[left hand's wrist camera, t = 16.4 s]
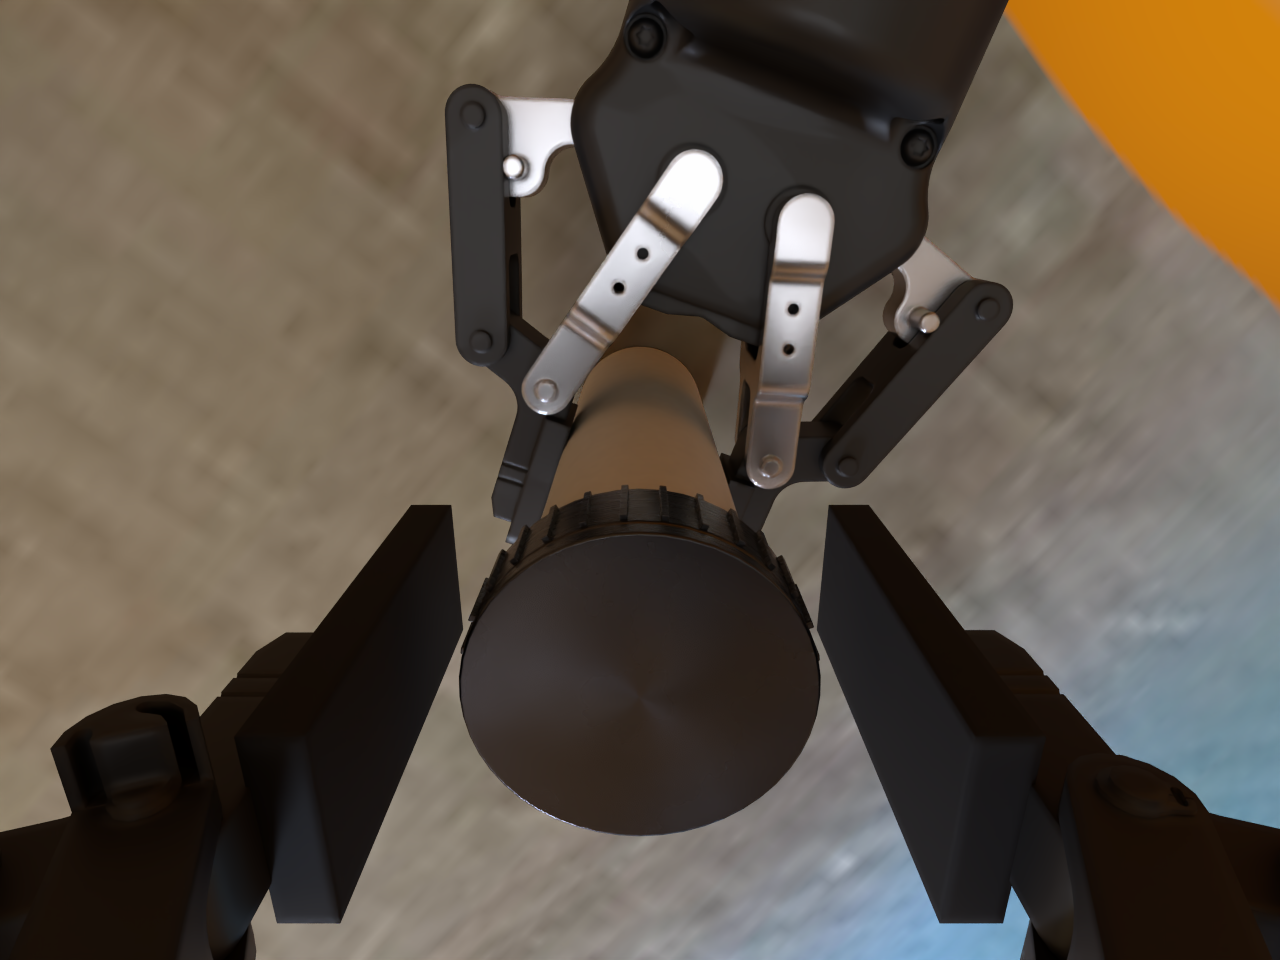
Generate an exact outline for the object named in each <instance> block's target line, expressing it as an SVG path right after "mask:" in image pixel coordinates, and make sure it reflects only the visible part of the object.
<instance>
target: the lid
mask: <svg viewBox="0 0 1280 960" xmlns="http://www.w3.org/2000/svg"><path fill="white" fill-rule="evenodd" d="M468 620H469V621H471V625H470V627H469V630H468V632H467V635H466V637H465V640H464V642H463V645H462V647H461V654H462V658H461V666H460V673H459V693H460V702H461V707H462V712H463V717H464V720H465V723H466V726H467V729H468V732H469V735H470V737H471V739H472V741H473V743H474V745H475V747H476V749H477V751H478V752H479V754H480V756H481V757H482V758H483V760H484V761H485V763H486V764H487V765H488V767H489V768H490V770H491V771H492V772H493V773H494V774H495V775H496V776H497V777H498V778H499V780H500V781H501V782H502V783H503V784H504V785H505V786H506V787H508V788H509V789H510V790H511V791H512V792H514V793H515V794H516V795H517V796H518V797H519V798H521V799H522V800H524V801H525V802H527V803H528V804H530V805H531V806H533V807H535V808H536V809H538V810H540V811H542V812H544V813H546V814H547V815H549V816H551V817H553V818H555V819H558V820H560V821H563V822H566V823H568V824H571V825H574V826H576V827H580V828H584V829H588V830H592V831H596V832H601V833H608V834H615V835H627V836H653V835H665V834H672V833H678V832H684V831H688V830H692V829H695V828H699V827H703V826H706V825H709V824H711V823H714V822H717V821H719V820H722V819H724V818H726V817H728V816H730V815H732V814H734V813H736V812H738V811H740V810H742V809H744V808H745V807H747V806H748V805H750V804H751V803H753V802H754V801H756V800H757V799H759V798H760V797H762V796H763V795H764V794H765V793H766V792H767V791H769V790H770V789H771V788H772V787H773V786H774V785H776V784H777V783H778V781H779V780H780V779H781V778H782V777H783V776H784V775H785V774H786V773H787V772H788V770H789V769H790V768H791V767H792V765H793V764H794V762H795V761H796V759H797V758H798V757H799V755H800V754H801V752H802V750H803V748H804V746H805V744H806V742H807V740H808V738H809V736H810V734H811V731H812V728H813V725H814V722H815V719H816V716H817V711H818V705H819V700H820V679H821V675H820V668H819V660H820V658H819V653H818V650H817V648H816V645H815V643H814V640H813V638H812V635H811V633H810V630H809V629H811V628H814V626H813V623H812V620H811V618H810V615H809V613H808V611H807V608H806V606H805V603H804V601H803V599H802V596H801V594H800V591H799V589H798V586H797V584H794V581H793V579H792V576H791V574H790V571H789V569H788V567H787V564H786V562H785V559H784V558H783V556H782V555H781V556H779V557H776V555H775V554H774V552H773V551H772V549H771V548H770V547H769V546H768V543H767V541H766V538H765V535H764V533H763V532H762V531H761V530H760V529H759V530H758V531H757V532H755V531H754V530H752V529H751V528H750V527H749V526H748V525H746V524H745V523H744V522H743V521H741V520H740V519H738V516H737V513H736V511H735V510H733V509H731V508H730V510H729V511H728V512H727V511H726V510H724V509H722V508H720V507H717V506H715V505H713V504H711V503H709V502H707V501H704V497H703V495H701V494H698V493H697V494H696V496H695V497H692V496H689V495H685V494H681V493H676V492H670V491H667V487H666V486H661V485H660V486H659V490H655V489H629V486H628V485H621V490H614V491H609V492H604V493H599V494H594V495H592V493H591V491H589V492H585V493H584V497H583V498H582V499H579V500H575V501H573V502H571V503H569V504H567V505H564V506H562V507H560V508H558V507H557V505H554V506H552V507H550V510H549V514H548V515H546V516H545V517H543V518H541V519H540V520H538V521H537V522H536V523H534V524H533V525H532V526H531V527H530V528H529V527H528V526H527V525H524V526H523V527H522V528H521V531H520V533H519V536H518V539H517V540H516V541H515V542H514V543H513V544H512V546H511V547H510V548H509V549H508V550H507V552H506V551H505V550H503V549H502V550H501V551H500V553H499V555H498V557H497V560H496V562H495V565H494V567H493V570H492V572H491V574H490V577H489V579H488V578H485V581H484V583H483V585H482V588H481V590H480V593H479V595H478V597H477V600H476V602H475V605H474V607H473V610H472V612H471V614H470V617H469V619H468Z"/></svg>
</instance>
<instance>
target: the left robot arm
mask: <svg viewBox="0 0 1280 960" xmlns="http://www.w3.org/2000/svg"><path fill="white" fill-rule="evenodd" d="M462 631H463V624H462V613H461V603H460V592H459V582H458V571H457V561H456V550H455V540H454V529H453V519H452V508H451V505H411V506H410V507H409V509H408V510H407V511H406V513H405V514H404V515H403V517H402V518H401V519H400V520H399V522H398V523H397V524H396V526H395V527H394V528H393V530H392V531H391V532H390V534H389V535H388V536H387V537H386V539H385V540H384V541H383V543H382V544H381V545H380V547H379V548H378V549H377V551H376V552H375V553H374V554H373V556H372V557H371V558H370V560H369V561H368V562H367V564H366V565H365V566H364V567H363V569H362V570H361V571H360V573H359V574H358V575H357V577H356V578H355V579H354V581H353V582H352V583H351V584H350V586H349V587H348V588H347V590H346V591H345V592H344V594H343V595H342V596H341V598H340V599H339V600H338V601H337V603H336V604H335V605H334V607H333V608H332V609H331V611H330V612H329V613H328V614H327V616H326V617H325V618H324V620H323V621H322V622H321V624H320V625H319V626H318V628H317V629H316V630H315V631H314V633H285V634H283V635H281V636H280V637H278V638H277V639H275V640H274V641H272V642H270V643H269V644H267V645H266V646H264V647H263V648H261V649H259V650H258V651H256V652H255V654H254V655H253V656H252V657H251V658H250V659H249V661H248V662H247V663H246V664H245V665H244V666H243V667H242V669H241V670H240V671H239V672H238V673H237V678H233V679H232V680H231V681H230V683H229V684H228V685H227V686H226V687H225V688H224V690H223V691H222V692H221V697H217V698H216V699H215V700H214V701H213V702H212V703H211V705H210V706H209V707H208V708H207V709H206V710H205V712H204V713H203V714H202V715H201V716H199V712H198V708H197V705H196V704H194V703H193V702H191V701H190V700H189V699H187V698H186V697H182V696H175V695H169V694H161V695H151V696H141V697H137V698H134V699H130V700H126V701H123V702H119V703H116V704H113V705H110V706H108V707H106V708H104V709H102V710H100V711H97V712H95V713H93V714H91V715H89V716H87V717H85V718H84V719H82V720H81V721H79V722H78V723H76V724H75V725H74V726H72V727H71V728H69V729H68V730H66V731H65V732H64V733H63V734H62V735H61V737H60V738H59V739H58V740H57V741H56V742H55V744H54V745H53V746H52V747H51V748H50V749H51V752H52V755H53V758H54V761H55V764H56V767H57V770H58V773H59V776H60V779H61V782H62V785H63V788H64V791H65V794H66V797H67V800H68V802H69V805H70V808H71V811H72V814H71V816H69V817H65V818H62V819H58V820H53V821H49V822H44V823H40V824H35V825H31V826H26V827H22V828H17V829H13V830H8V831H4V832H0V960H255V958H256V946H255V939H254V934H253V930H252V925H251V920H252V918H253V916H254V915H255V913H256V911H257V909H258V907H259V905H260V904H261V902H262V900H263V898H264V896H265V894H266V893H267V891H268V889H269V891H270V895H271V899H272V904H273V908H274V912H275V917H276V921H277V923H341V920H342V918H343V916H344V913H345V911H346V908H347V906H348V904H349V901H350V899H351V897H352V894H353V892H354V889H355V887H356V885H357V882H358V880H359V877H360V875H361V873H362V870H363V868H364V865H365V863H366V861H367V858H368V856H369V853H370V851H371V849H372V846H373V844H374V841H375V839H376V837H377V834H378V832H379V830H380V827H381V825H382V822H383V820H384V818H385V815H386V813H387V810H388V808H389V806H390V803H391V801H392V798H393V796H394V794H395V791H396V789H397V786H398V784H399V782H400V779H401V777H402V775H403V772H404V770H405V767H406V765H407V763H408V760H409V758H410V755H411V753H412V751H413V748H414V746H415V743H416V741H417V739H418V736H419V734H420V731H421V729H422V727H423V724H424V722H425V719H426V717H427V715H428V712H429V710H430V708H431V705H432V703H433V700H434V698H435V696H436V693H437V691H438V688H439V686H440V684H441V681H442V679H443V676H444V674H445V672H446V669H447V667H448V664H449V662H450V660H451V657H452V655H453V653H454V650H455V648H456V645H457V643H458V641H459V638H460V636H461V633H462ZM817 631H818V633H819V636H820V638H821V641H822V643H823V645H824V648H825V650H826V653H827V655H828V657H829V660H830V662H831V664H832V667H833V669H834V672H835V674H836V676H837V679H838V681H839V684H840V686H841V688H842V691H843V693H844V696H845V698H846V700H847V703H848V705H849V708H850V710H851V712H852V715H853V717H854V719H855V722H856V724H857V727H858V729H859V731H860V734H861V736H862V739H863V741H864V743H865V746H866V748H867V751H868V753H869V755H870V758H871V760H872V763H873V765H874V767H875V770H876V772H877V775H878V777H879V779H880V782H881V784H882V786H883V789H884V791H885V794H886V796H887V798H888V801H889V803H890V806H891V808H892V810H893V813H894V815H895V818H896V820H897V822H898V825H899V827H900V830H901V832H902V834H903V837H904V839H905V841H906V844H907V846H908V849H909V851H910V853H911V856H912V858H913V861H914V863H915V865H916V868H917V870H918V873H919V875H920V877H921V880H922V882H923V885H924V887H925V889H926V892H927V894H928V897H929V899H930V901H931V904H932V906H933V908H934V911H935V913H936V916H937V918H938V920H939V923H1003V921H1004V917H1005V912H1006V908H1007V904H1008V899H1009V895H1010V891H1011V886H1012V887H1013V889H1014V891H1015V893H1016V894H1017V896H1018V898H1019V900H1020V902H1021V903H1022V905H1023V907H1024V909H1025V911H1026V913H1027V914H1028V916H1029V918H1030V921H1029V925H1028V930H1027V934H1026V938H1025V942H1024V946H1023V950H1022V954H1021V958H1020V960H1280V829H1278V828H1273V827H1269V826H1264V825H1260V824H1255V823H1251V822H1246V821H1242V820H1237V819H1232V818H1228V817H1223V816H1219V815H1216V814H1212V813H1209V812H1208V811H1207V809H1206V808H1205V806H1204V805H1203V804H1202V802H1201V801H1200V799H1199V798H1198V797H1197V795H1196V794H1195V793H1194V792H1193V791H1191V790H1190V789H1189V788H1188V787H1186V786H1185V785H1184V784H1183V783H1181V782H1180V781H1179V780H1178V779H1176V778H1175V777H1173V776H1172V775H1170V774H1168V773H1166V772H1164V771H1162V770H1160V769H1158V768H1156V767H1154V766H1152V765H1151V764H1148V763H1145V762H1142V761H1139V760H1136V759H1133V758H1129V757H1126V756H1123V755H1116V754H1115V753H1114V752H1113V751H1112V750H1111V748H1110V747H1109V746H1108V745H1107V744H1106V743H1105V742H1104V740H1103V739H1102V738H1101V737H1100V736H1099V735H1098V734H1097V732H1096V731H1095V730H1094V729H1093V728H1092V727H1091V725H1090V724H1089V723H1088V722H1087V721H1086V720H1085V719H1084V717H1083V716H1082V715H1081V714H1080V713H1079V712H1078V710H1077V709H1076V708H1075V707H1074V706H1073V705H1072V704H1071V702H1070V701H1069V700H1068V699H1067V698H1066V697H1065V695H1064V694H1060V693H1059V689H1058V687H1057V686H1056V685H1055V684H1054V683H1053V682H1052V681H1051V679H1050V678H1049V677H1048V676H1047V675H1044V674H1043V670H1042V669H1041V668H1040V667H1039V666H1038V664H1037V663H1036V662H1035V661H1034V660H1033V659H1032V657H1031V656H1030V655H1029V654H1028V653H1027V652H1026V651H1025V649H1023V648H1022V647H1020V646H1019V645H1017V644H1015V643H1014V642H1012V641H1011V640H1009V639H1007V638H1006V637H1004V636H1003V635H1001V634H1000V633H998V632H996V631H995V630H964V629H963V628H962V626H961V625H960V624H959V622H958V621H957V620H956V618H955V617H954V616H953V614H952V613H951V612H950V611H949V609H948V608H947V607H946V605H945V604H944V603H943V601H942V600H941V599H940V598H939V596H938V595H937V594H936V592H935V591H934V590H933V588H932V587H931V586H930V584H929V583H928V582H927V581H926V579H925V578H924V577H923V575H922V574H921V573H920V571H919V570H918V569H917V567H916V566H915V565H914V564H913V562H912V561H911V560H910V558H909V557H908V556H907V554H906V553H905V552H904V551H903V549H902V548H901V547H900V545H899V544H898V543H897V541H896V540H895V539H894V537H893V536H892V535H891V534H890V532H889V531H888V530H887V528H886V527H885V526H884V524H883V523H882V522H881V520H880V519H879V518H878V517H877V515H876V514H875V513H874V511H873V510H872V509H871V507H870V506H869V505H829V508H828V519H827V529H826V540H825V550H824V561H823V571H822V582H821V592H820V603H819V613H818V624H817Z"/></svg>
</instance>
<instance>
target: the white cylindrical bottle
mask: <svg viewBox="0 0 1280 960" xmlns="http://www.w3.org/2000/svg"><path fill="white" fill-rule="evenodd" d="M577 405H578V408H577V411H576V414H575V417H574V421H573V424H572V427H571V430H570V433H569V436H568V439H567V442H566V445H565V448H564V451H563V453H562V456H561V458H560V461H559V464H558V467H557V470H556V474H555V477H554V480H553V483H552V486H551V489H550V493H549V496H548V499H547V502H546V505H545V508H544V512H543V515H542V518H543V517H545V516H546V515H548V514H549V510H550V507H552V506H554V505H557V507H558V508H560V507H562V506H564V505H567V504H569V503H571V502H573V501H575V500H579V499H582V498H583V497H584V493H585V492H589V491H591V493H592V495H594V494H599V493H604V492H609V491H614V490H621V485H628V486H629V489H655V490H659V486H660V485H661V486H666V487H667V491H670V492H676V493H681V494H685V495H689V496H692V497H695V496H696V494H697V493H698V494H701V495H703V497H704V501H707V502H709V503H711V504H713V505H715V506H717V507H720V508H722V509H724V510H726V511H727V512H728V511H729V510H730V508H731V509H733V510H735V511H736V509H735V506H734V503H733V499H732V496H731V493H730V490H729V487H728V483H727V480H726V477H725V474H724V471H723V468H722V464H721V461H720V458H719V455H718V452H717V448H716V445H715V442H714V439H713V436H712V433H711V429H710V426H709V423H708V420H707V417H706V413H705V410H704V407H703V404H702V401H701V398H700V394H699V391H698V388H697V385H696V383H695V381H694V379H693V377H692V375H691V374H690V372H689V371H688V370H687V368H686V367H685V366H684V365H683V364H682V363H681V362H680V361H679V360H677V359H676V358H675V357H673V356H671V355H670V354H668V353H666V352H663V351H661V350H658V349H654V348H649V347H631V348H626V349H622V350H619V351H617V352H614V353H612V354H610V355H609V356H607V357H605V358H604V359H603V360H601V361H600V362H599V363H598V364H597V365H596V366H595V367H594V368H593V369H592V371H591V372H590V374H589V375H588V377H587V379H586V380H585V383H584V385H583V388H582V391H581V394H580V397H579V401H578V404H577ZM736 513H737V512H736ZM737 516H738V515H737ZM738 519H739V518H738Z"/></svg>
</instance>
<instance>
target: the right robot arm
mask: <svg viewBox="0 0 1280 960" xmlns="http://www.w3.org/2000/svg"><path fill="white" fill-rule="evenodd" d="M1007 3H1008V0H629V4H628V7H627V10H626V14H625V17H624V20H623V24H622V27H621V30H620V33H619V36H618V38H617V41H616V43H615V45H614V47H613V49H612V50H611V52H610V54H609V56H608V57H607V58H606V60H605V61H604V62H603V64H602V65H601V66H600V67H599V68H598V70H597V71H596V72H595V73H594V74H593V75H591V76H590V77H589V78H588V79H587V80H586V82H585V83H584V84H583V85H582V87H581V88H580V90H579V91H578V93H577V95H576V97H575V99H558V98H535V97H511V96H499V95H497V94H495V93H494V92H492V91H491V90H488V89H486V88H485V87H483V86H480V85H476V84H466V85H463V86H460V87H458V88H457V89H456V90H454V91H453V92H452V94H451V95H450V96H449V98H448V100H447V103H446V107H445V126H446V147H447V168H448V189H449V210H450V230H451V251H452V272H453V293H454V314H455V335H456V345H457V348H458V350H459V352H460V354H461V355H462V357H463V358H464V359H465V360H466V361H468V362H469V363H471V364H473V365H476V366H482V367H483V366H486V367H487V368H489V369H490V370H491V371H493V372H494V373H495V374H496V375H498V376H499V377H500V378H502V379H503V380H504V381H505V382H506V383H508V384H509V386H510V387H511V388H512V390H513V391H514V393H515V396H516V399H517V404H518V410H517V415H516V419H515V422H514V425H513V428H512V432H511V435H510V438H509V441H508V445H507V448H506V451H505V455H504V458H503V461H502V465H501V468H500V471H499V474H498V478H497V481H496V484H495V487H494V491H493V494H492V497H491V498H492V506H493V515H494V517H497V518H500V519H503V520H507V521H510V522H512V523H511V526H510V529H509V532H508V535H507V538H506V542H507V543H510V544H513V543H514V542H515V541H516V540H517V539H518V536H519V533H520V531H521V528H522V527H523V526H524V525H527V526H528V527H529V528H530V527H531V526H532V525H533V524H534V523H536V522H537V521H538V520H540V519H541V517H542V514H543V511H544V508H545V505H546V502H547V499H548V496H549V493H550V489H551V486H552V483H553V480H554V477H555V474H556V470H557V467H558V464H559V461H560V458H561V456H562V453H563V451H564V448H565V445H566V442H567V439H568V436H569V433H570V430H571V427H572V424H573V421H574V417H575V414H576V411H577V408H578V405H577V404H574V403H572V401H573V398H574V395H575V393H576V392H577V390H578V389H579V388H580V386H581V385H582V383H583V382H584V381H585V379H586V378H587V376H588V375H589V374H590V372H591V371H592V369H593V368H594V367H595V365H596V364H597V362H598V361H599V360H600V358H601V357H602V355H603V354H604V353H605V351H606V350H607V349H608V347H609V346H611V344H612V343H613V342H614V341H615V339H616V338H617V337H618V335H619V334H620V333H621V331H622V330H623V328H624V327H625V326H626V324H627V323H628V321H629V320H630V319H631V317H632V316H633V314H634V313H635V312H636V310H637V309H638V307H639V306H640V305H643V306H646V307H649V308H652V309H655V310H657V311H660V312H663V313H666V314H674V315H687V316H699V317H702V318H704V319H706V320H707V321H709V322H710V323H711V324H713V325H714V326H716V327H717V328H718V329H720V330H721V331H723V332H724V333H726V334H727V335H728V336H730V337H733V338H735V339H738V340H741V352H740V390H739V400H738V410H737V420H736V430H735V446H734V449H733V451H732V454H731V456H729V455H726V454H723V453H721V455H720V461H721V464H722V468H723V471H724V474H725V477H726V480H727V483H728V487H729V490H730V493H731V496H732V499H733V503H734V506H735V509H736V512H737V515H738V518H739V519H740V520H741V521H743V522H744V523H745V524H746V525H748V526H749V527H750V528H751V529H752V530H754V531H755V532H757V531H758V530H759V529H760V530H761V529H762V527H763V525H764V522H765V520H766V518H767V516H768V514H769V511H770V509H771V507H772V505H773V502H774V500H775V498H776V497H777V495H778V494H779V493H780V492H781V491H782V490H783V489H784V488H786V487H787V486H789V485H791V484H794V483H798V482H818V481H829V482H830V483H831V484H832V485H834V486H836V487H839V488H851V487H854V486H857V485H859V484H860V483H862V482H863V481H864V480H865V479H866V478H867V477H868V476H869V474H870V473H871V472H872V471H873V470H874V469H875V468H876V467H877V466H878V464H879V463H880V462H881V461H882V460H883V459H884V458H885V457H886V456H887V455H888V453H889V452H890V451H891V450H892V449H893V448H894V447H895V446H896V445H897V443H898V442H899V441H900V440H901V439H902V438H903V437H904V436H905V435H906V434H907V432H908V431H909V430H910V429H911V428H912V427H913V426H914V425H915V424H916V422H917V421H918V420H919V419H920V418H921V417H922V416H923V415H924V414H925V412H926V411H927V410H928V409H929V408H930V407H931V406H932V405H933V404H934V403H935V401H936V400H937V399H938V398H939V397H940V396H941V395H942V394H943V393H944V391H945V390H946V389H947V388H948V387H949V386H950V385H951V384H952V383H953V382H954V380H955V379H956V378H957V377H958V376H959V375H960V374H961V373H962V372H963V370H964V369H965V368H966V367H967V366H968V365H969V364H970V363H971V362H972V360H973V359H974V358H975V357H976V356H977V355H978V354H979V353H980V352H981V351H982V349H983V348H984V347H985V346H986V345H987V344H988V343H989V342H990V341H991V339H992V338H993V337H994V336H995V335H996V334H997V333H998V332H999V331H1000V330H1001V328H1002V327H1003V326H1004V325H1005V324H1006V323H1007V321H1008V320H1009V318H1010V316H1011V313H1012V309H1013V300H1012V296H1011V294H1010V292H1009V291H1008V289H1007V288H1005V287H1004V286H1003V285H1001V284H998V283H995V282H990V281H986V280H981V279H976V278H973V277H971V276H970V275H969V274H968V273H967V272H966V271H965V270H963V269H962V268H961V267H960V266H959V265H958V264H956V263H955V262H954V261H953V260H952V259H951V258H950V257H948V256H947V255H946V254H945V253H944V252H943V251H941V250H940V249H939V248H938V247H937V246H936V245H935V244H933V243H932V242H931V241H930V240H929V239H928V238H926V237H925V233H926V230H927V226H928V186H929V179H930V174H931V170H932V167H933V164H934V162H935V159H936V157H937V155H938V153H939V151H940V149H941V147H942V145H943V143H944V141H945V139H946V137H947V135H948V133H949V131H950V129H951V127H952V125H953V123H954V121H955V118H956V116H957V114H958V112H959V109H960V107H961V105H962V103H963V100H964V98H965V96H966V94H967V92H968V89H969V87H970V85H971V83H972V80H973V78H974V76H975V74H976V71H977V69H978V67H979V65H980V63H981V60H982V58H983V56H984V54H985V51H986V49H987V47H988V45H989V43H990V40H991V38H992V36H993V34H994V32H995V29H996V27H997V25H998V23H999V20H1000V18H1001V16H1002V14H1003V12H1004V9H1005V7H1006V5H1007ZM571 147H575V150H576V153H577V157H578V160H579V163H580V167H581V170H582V174H583V177H584V180H585V184H586V187H587V190H588V194H589V197H590V200H591V204H592V207H593V210H594V214H595V217H596V220H597V224H598V227H599V230H600V234H601V237H602V240H603V244H604V247H605V250H606V254H607V257H606V258H605V260H604V261H603V263H602V264H601V265H600V267H599V268H598V270H597V271H596V273H595V274H594V276H593V277H592V279H591V280H590V282H589V283H588V285H587V286H586V287H585V289H584V290H583V292H582V293H581V295H580V296H579V298H578V299H577V301H576V302H575V304H574V305H573V307H572V308H571V310H570V311H569V312H568V314H567V315H566V317H565V318H564V320H563V321H562V323H561V324H560V326H559V327H558V329H557V330H556V332H555V333H554V334H553V336H552V337H551V339H550V340H549V339H547V338H546V337H545V336H544V335H542V334H541V333H540V332H539V331H537V330H536V329H535V328H534V327H532V326H531V325H530V324H529V323H527V322H526V321H525V320H524V319H522V267H521V207H520V197H531V196H534V195H536V194H538V193H539V192H540V191H541V190H542V189H543V188H544V187H545V185H546V183H547V180H548V176H549V169H550V165H551V163H552V161H553V159H554V158H555V156H556V155H557V154H558V153H559V152H561V151H562V150H564V149H567V148H571ZM889 273H892V275H893V279H894V289H893V292H892V295H891V297H890V299H889V300H888V302H887V303H886V305H885V307H884V311H883V322H884V325H885V327H886V329H887V330H888V332H887V333H886V335H885V336H884V337H883V338H882V339H881V340H880V342H879V343H878V344H877V345H876V346H875V347H874V349H873V350H872V351H871V352H870V353H869V354H868V356H867V357H866V358H865V359H864V360H863V361H862V363H861V364H860V365H859V366H858V367H857V369H856V370H855V371H854V372H853V373H852V374H851V376H850V377H849V378H848V379H847V380H846V381H845V383H844V384H843V385H842V386H841V387H840V388H839V390H838V391H837V392H836V393H835V394H834V396H833V397H832V398H831V399H830V400H829V401H828V403H827V404H826V405H825V406H824V407H823V408H822V410H821V411H820V412H819V413H818V414H817V415H816V417H815V418H814V419H813V420H812V421H811V422H801V415H802V407H803V403H804V401H805V400H806V399H807V397H808V394H809V390H810V385H811V377H812V369H813V362H814V354H815V347H816V339H817V331H818V324H819V320H820V319H822V318H823V317H825V316H826V315H828V314H829V313H831V312H832V311H834V310H835V309H837V308H838V307H840V306H841V305H843V304H844V303H846V302H847V301H849V300H850V299H852V298H853V297H855V296H856V295H858V294H859V293H861V292H862V291H864V290H865V289H867V288H868V287H870V286H871V285H873V284H874V283H876V282H877V281H879V280H880V279H882V278H883V277H885V276H886V275H888V274H889Z"/></svg>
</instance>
